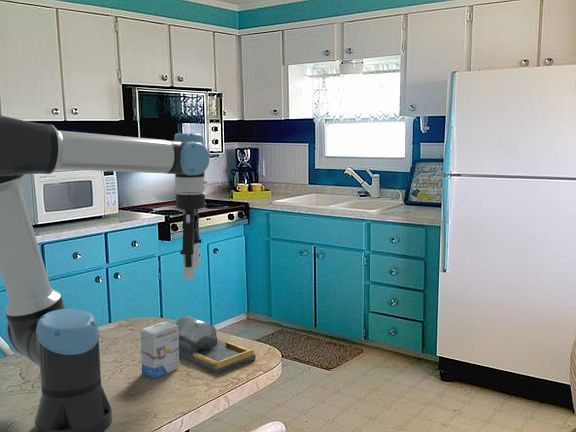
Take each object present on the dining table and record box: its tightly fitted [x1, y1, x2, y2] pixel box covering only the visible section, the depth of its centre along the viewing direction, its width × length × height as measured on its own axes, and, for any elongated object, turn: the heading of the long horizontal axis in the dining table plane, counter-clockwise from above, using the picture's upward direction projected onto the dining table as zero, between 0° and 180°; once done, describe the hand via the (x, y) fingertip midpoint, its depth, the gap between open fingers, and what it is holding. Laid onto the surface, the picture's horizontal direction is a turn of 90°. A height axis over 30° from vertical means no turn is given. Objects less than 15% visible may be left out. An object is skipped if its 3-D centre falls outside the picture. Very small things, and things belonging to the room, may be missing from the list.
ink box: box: [140, 321, 180, 380], centre depth 150 cm, size 9×5×12 cm, turn 143°
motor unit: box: [175, 315, 257, 375], centre depth 161 cm, size 13×24×8 cm, turn 46°
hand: (191, 273), depth 157 cm, fingers open, 13 cm apart
